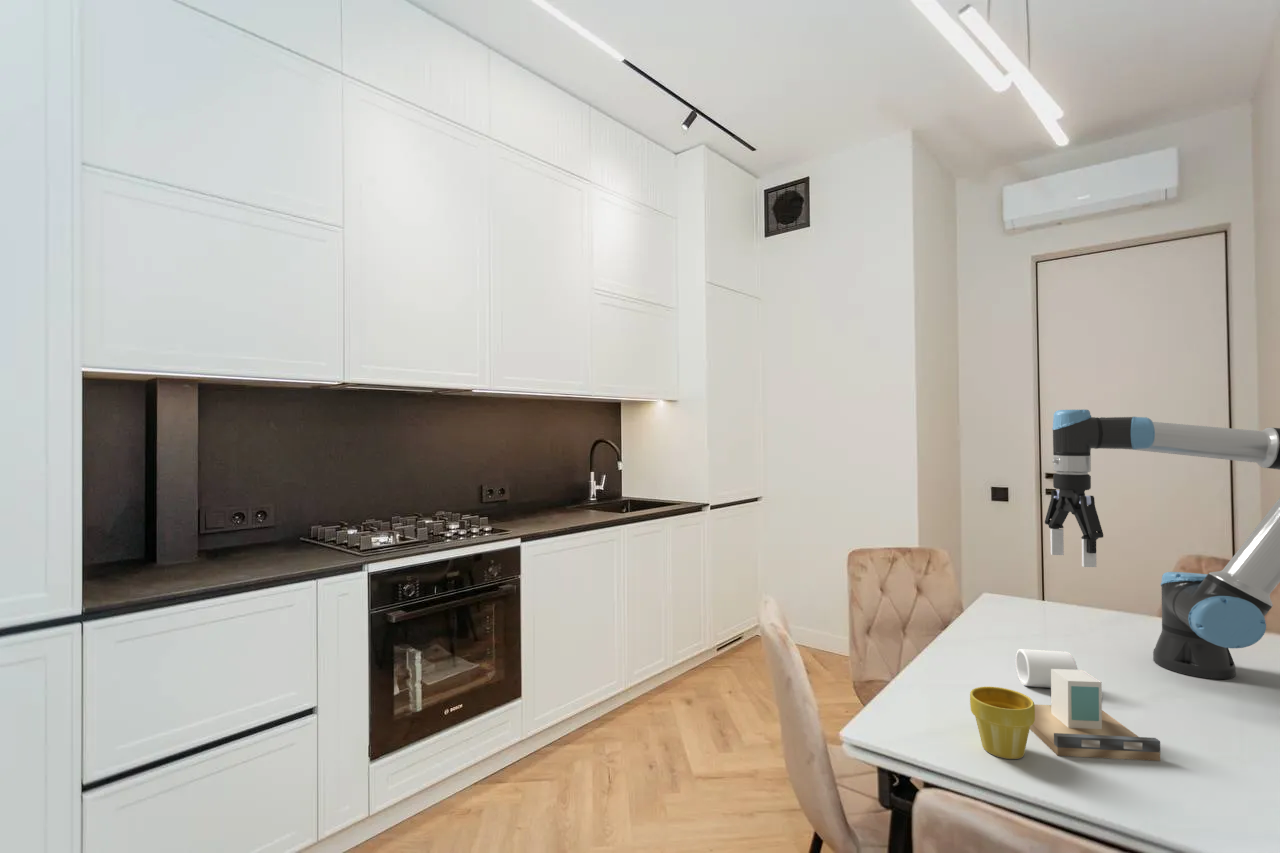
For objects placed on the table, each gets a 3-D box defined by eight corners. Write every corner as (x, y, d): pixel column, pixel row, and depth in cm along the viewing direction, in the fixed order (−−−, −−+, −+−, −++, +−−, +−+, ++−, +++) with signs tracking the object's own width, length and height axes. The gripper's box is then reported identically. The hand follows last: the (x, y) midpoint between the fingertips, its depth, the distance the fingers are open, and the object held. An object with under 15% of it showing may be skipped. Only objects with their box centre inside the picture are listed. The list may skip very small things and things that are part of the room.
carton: (1050, 713, 126) (1050, 668, 126) (1082, 714, 125) (1082, 669, 125) (1068, 728, 120) (1068, 681, 120) (1102, 729, 119) (1102, 682, 119)
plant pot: (958, 737, 119) (958, 686, 119) (1009, 734, 120) (1009, 684, 120) (993, 767, 109) (993, 711, 109) (1049, 763, 110) (1048, 708, 110)
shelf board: (1098, 714, 128) (1098, 697, 128) (1160, 761, 110) (1160, 741, 110) (1010, 710, 130) (1010, 693, 130) (1058, 756, 112) (1057, 736, 112)
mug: (1079, 695, 138) (1078, 659, 138) (1029, 691, 140) (1028, 656, 140) (1054, 674, 150) (1054, 640, 150) (1008, 671, 152) (1008, 638, 152)
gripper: (1029, 469, 164) (1030, 550, 164) (1085, 477, 139) (1086, 572, 139) (1059, 469, 163) (1060, 550, 163) (1121, 477, 139) (1122, 572, 139)
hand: (1072, 560), depth 151 cm, fingers open, 13 cm apart
